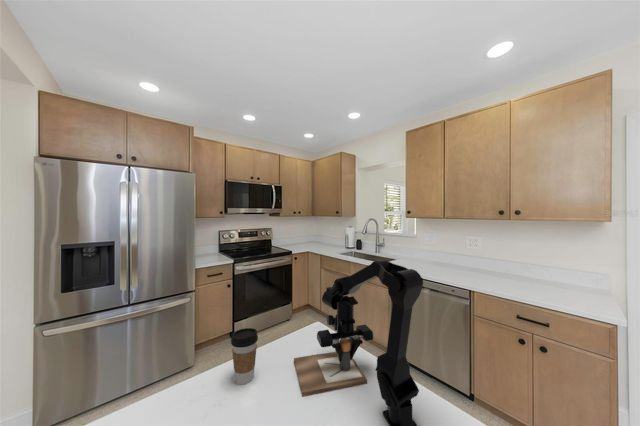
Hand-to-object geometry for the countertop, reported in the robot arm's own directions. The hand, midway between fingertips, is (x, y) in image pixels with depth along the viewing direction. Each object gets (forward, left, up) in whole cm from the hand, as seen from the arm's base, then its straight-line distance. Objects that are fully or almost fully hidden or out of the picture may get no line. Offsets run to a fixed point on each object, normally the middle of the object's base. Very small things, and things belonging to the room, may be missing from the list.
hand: (345, 360), depth 79 cm
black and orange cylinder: (0, 0, -2) cm, 2 cm away
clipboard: (+2, +6, -4) cm, 7 cm away
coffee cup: (+6, +33, -4) cm, 34 cm away
